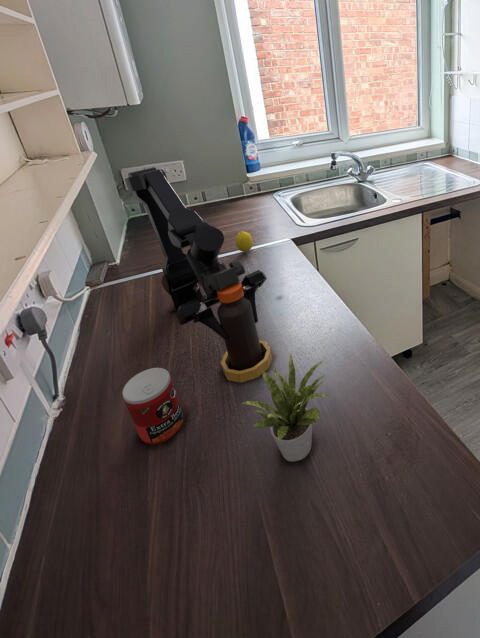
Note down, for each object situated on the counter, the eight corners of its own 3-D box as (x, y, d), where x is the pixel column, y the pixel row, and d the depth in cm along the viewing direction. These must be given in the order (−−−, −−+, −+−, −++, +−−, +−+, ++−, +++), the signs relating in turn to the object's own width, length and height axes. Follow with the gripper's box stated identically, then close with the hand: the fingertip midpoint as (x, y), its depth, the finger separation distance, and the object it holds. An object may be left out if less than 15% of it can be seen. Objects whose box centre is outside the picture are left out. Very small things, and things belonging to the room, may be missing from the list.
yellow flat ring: (217, 384, 86) (214, 375, 85) (233, 349, 95) (230, 340, 94) (264, 381, 86) (262, 372, 85) (275, 346, 95) (274, 337, 94)
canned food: (155, 453, 72) (136, 408, 67) (131, 433, 76) (112, 389, 71) (193, 420, 78) (178, 377, 73) (169, 403, 82) (154, 361, 77)
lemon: (234, 254, 139) (229, 234, 136) (245, 247, 144) (241, 227, 140) (247, 257, 137) (242, 236, 134) (257, 249, 141) (253, 229, 138)
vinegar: (230, 356, 92) (211, 283, 84) (260, 347, 95) (244, 274, 87) (232, 377, 86) (212, 300, 79) (264, 366, 89) (248, 291, 81)
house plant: (354, 418, 76) (346, 350, 70) (328, 493, 63) (315, 419, 57) (285, 407, 79) (271, 341, 73) (247, 476, 67) (227, 404, 60)
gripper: (166, 273, 77) (203, 345, 74) (255, 237, 89) (290, 298, 86) (163, 291, 85) (196, 357, 82) (244, 257, 97) (276, 313, 94)
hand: (241, 330), depth 86 cm, fingers closed on vinegar, 7 cm apart
